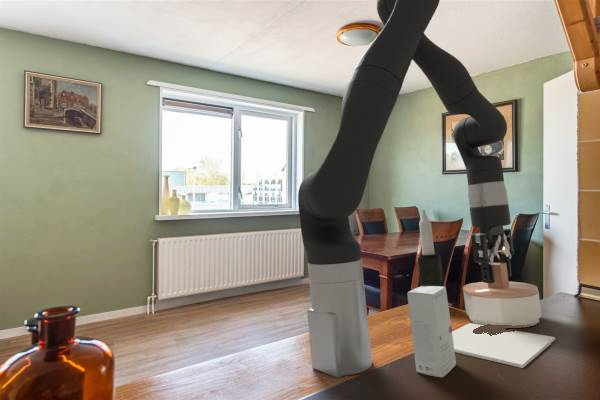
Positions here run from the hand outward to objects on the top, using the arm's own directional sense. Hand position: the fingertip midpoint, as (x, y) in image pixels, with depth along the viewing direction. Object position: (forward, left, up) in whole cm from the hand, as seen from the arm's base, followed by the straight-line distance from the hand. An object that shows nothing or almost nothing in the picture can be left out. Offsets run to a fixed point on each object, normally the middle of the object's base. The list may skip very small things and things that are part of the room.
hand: (497, 279), depth 75 cm
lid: (0, 0, -3) cm, 3 cm away
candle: (+2, +17, -9) cm, 19 cm away
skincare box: (-30, -2, -9) cm, 31 cm away
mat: (-15, -4, -8) cm, 18 cm away
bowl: (0, 0, -8) cm, 8 cm away
